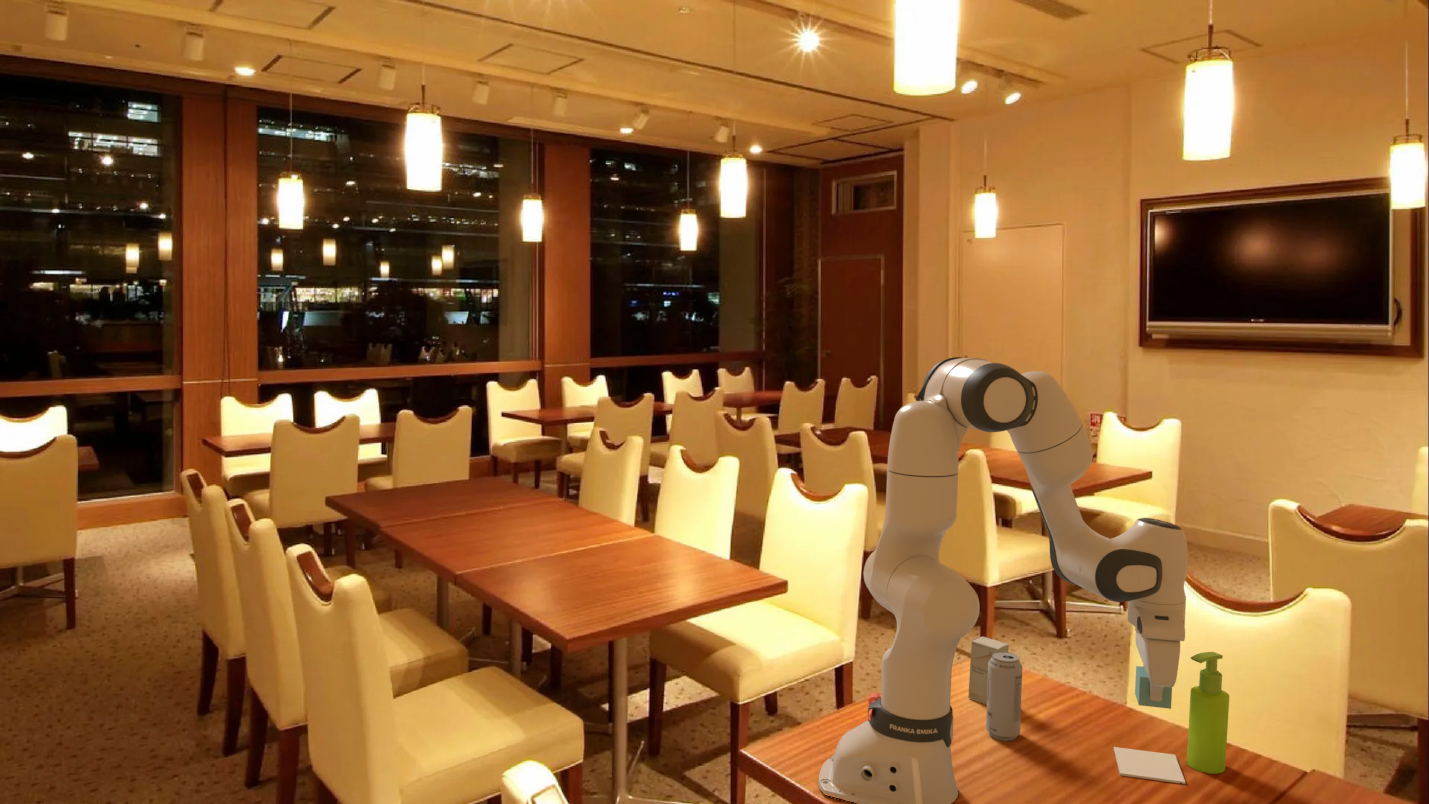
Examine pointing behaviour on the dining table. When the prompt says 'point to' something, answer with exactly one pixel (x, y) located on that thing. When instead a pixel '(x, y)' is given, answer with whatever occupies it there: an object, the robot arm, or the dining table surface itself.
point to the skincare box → (982, 666)
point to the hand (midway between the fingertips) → (1152, 692)
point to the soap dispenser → (1208, 718)
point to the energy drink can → (1004, 696)
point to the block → (1143, 691)
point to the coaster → (1148, 765)
